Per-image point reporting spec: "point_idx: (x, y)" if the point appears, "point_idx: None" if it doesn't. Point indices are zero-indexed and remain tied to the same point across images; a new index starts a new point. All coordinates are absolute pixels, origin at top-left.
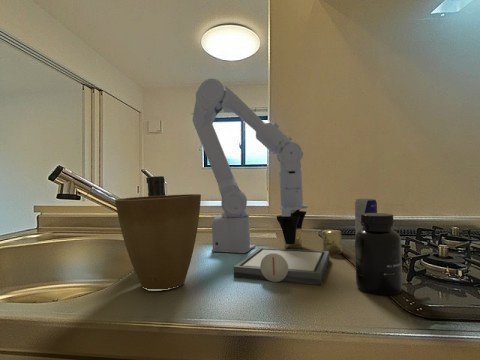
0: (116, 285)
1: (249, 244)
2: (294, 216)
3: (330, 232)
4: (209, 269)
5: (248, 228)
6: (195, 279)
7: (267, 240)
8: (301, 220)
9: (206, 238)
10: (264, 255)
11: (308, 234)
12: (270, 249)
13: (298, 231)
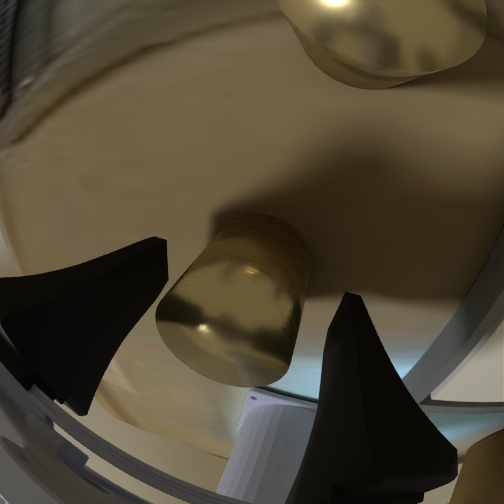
0: (462, 462)
1: (296, 416)
2: (351, 493)
3: (457, 6)
4: (460, 430)
5: (286, 472)
6: (497, 426)
7: (137, 332)
8: (73, 298)
9: (170, 425)
10: (501, 385)
11: (21, 180)
12: (439, 383)
13: (273, 311)
